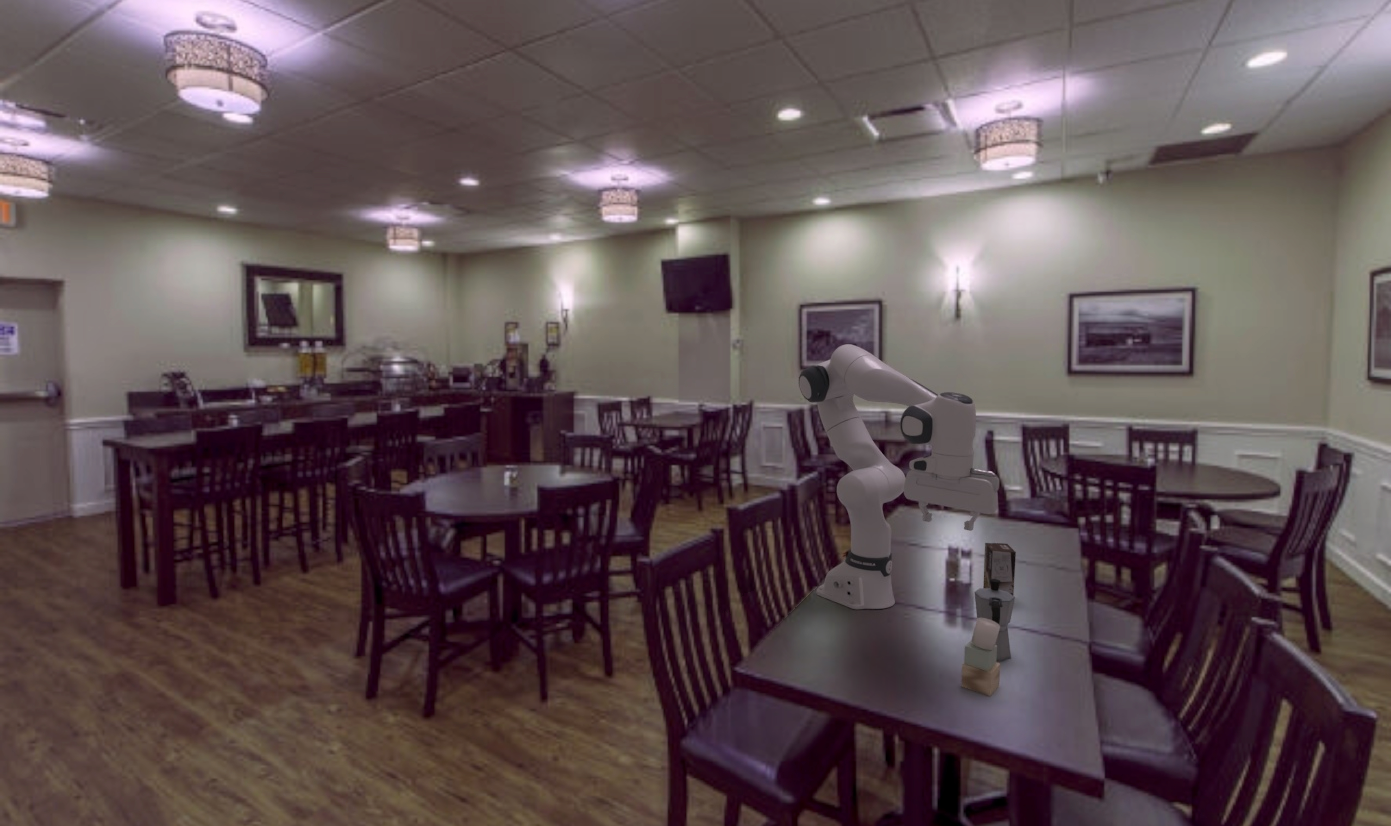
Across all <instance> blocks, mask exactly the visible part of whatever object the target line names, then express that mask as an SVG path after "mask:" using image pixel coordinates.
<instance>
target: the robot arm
mask: <svg viewBox="0 0 1391 826" xmlns="http://www.w3.org/2000/svg"><path fill="white" fill-rule="evenodd" d="M798 387H799V391H800V393H801V395H802V397H803V398H804V399H805V400H806V401H807V402H809V403H817V409H818V410H817V411H818V414H819V418H820V420H821V424H822V426H823V429H824V431H825V433H826V435H827V437H828V439H829V442H830V444H831V446H832V449H833V451H834V453H835V455H836V456H837V458H838V459H839V460H841V461H843V462H844V463H845V464H846V465H848V466H849V467H850V469H852V471H850V472H848V473H846V474H845V475H843V476H842V477H841V478H840V479H839V481H838V483H837V486H836V494H837V498H838V500H839V501H840V503H841V504H842V505H843V506H844V507H845V509H846V511H847V513H848V517H849V518H848V519H849V522H850V549H847V550H846V551H845V552H843V553H842V558H844V557H845V560H844V561H843V562H841V563H840V564H837V565H836V566H835V567H833V568H831V569H830V570H829V571H828V572H827V574H826V576H825V579H824V583H823V584H821V585H819V586H818V587H817V588H816V595H817V596H819V597H822V598H825V599H827V600H830V601H832V602H835V603H837V604H840V605H842V606H845V607H847V608H849V609H852V610H864V609H867V610H868V609H869V610H870V609H871V610H875V609H876V610H879V609H886V608H887V609H888V608H890V607H893V606H894V605H895V603H896V600H895V597H894V596H895V595H894V592H893V586H892V576H891V575H892V572H893V571H892V570H893V569H892V568H893V554H892V552H891V545H892V544H891V543H892V528H891V525H890V524H889V522H888V521H886V519H885V516H884V511H883V505H884V504H885V503H889V502H892V501H894V500H896V499H897V498H899V496H901V495H902V494H903V495H904V496H905V498H906V499H907V500H909V501H910V500H911V501H916V502H918V507H919V510H920V511H921V514H922V521H923V522H927V523H930V522H932V520H933V513H931V512H929V510H928V507H927V506H928V505H929V504H931V505H937V506H942V507H947V508H951V509H958V510H964V511H968V512H969V515H970V517H971V518H970V520H966V521H964V523H963V525H964V526H963V529H964V530H965V531H970V532H971V531H973V530H974V525H975V522H976V521H977V520H978V518H979V517H980V516H981V514H983V515H984V514H985V515H991V514H994V513H995V512H996V511H997V510H998V506H999V497H998V496H999V495H998V491H999V489H1000V481H1001V480H1000V478H999V477H998V475H997V474H995V473H994V472H993V471H991V470H982V469H978V468H977V469H976V468H973V467H974V453H975V451H974V447H973V444H974V443H973V442H974V440H975V436H976V427H977V426H976V425H977V411H976V405H975V402H974V401H975V400H973V398H971V397H970V396H968V395H966V394H963V393H957V392H952V391H951V392H950V391H949V392H948V391H947V392H946V391H944V392H941V393H939V394H938V393H936V392H934V391H933V390H931V389H929V388H928V387H926V386H924V385H923V384H921V383H919V382H918V381H917V380H914V379H912V378H910V377H908V376H906V375H905V374H902V372H900V371H897V370H896V369H894V368H893V367H892V366H890V365H889V364H887V363H885V362H884V361H882V360H880V359H879V358H878V357H876V356H875V355H873V354H872V353H871V352H869V351H867V350H865V349H864V348H862V347H860V346H857V345H854V344H850V343H847V344H842V345H840V346H838V347H837V348H835V350H834V351H833V352H832V354H831V356H830V359H828V360H826V361H823V362H820V363H817V364H815V365H810V366H808V367H807V368H804V369H803V370H802V371H801V372H800V374H799V377H798ZM854 396H857V397H858V398H860V399H863V400H864V401H867V402H874V403H889V404H890V403H891V404H897V405H903V406H907V407H906V409H905V410H904V411H903V412H902V414H901V418H900V423H899V426H900V432H901V435H902V436H903V438H904V439H905V441H907V442H908V443H909V444H911V445H916V446H928V445H930V446H931V455H926V456H923V457H918V458H914V459H912V460H910V461H909V464H908V465H909V469H910V470H909V471H908V472H907V473H906V475H905V474H904V472H903V470H902V469H901V468H899V467H898V466H896V465H894V464H893V463H892V462H890V460H889V459H888V458H887V457H886V456H885V454H883V453H882V451H881V450H880V449H879V447H878V446H877V444H876V443H875V442H874V441H873V439H872V437H871V434H870V433H869V431H868V429H867V426H866V424H865V422H864V420H863V419H862V416H861V414H860V412H859V411H858V409H857V407H856V405H855V401H854Z"/></svg>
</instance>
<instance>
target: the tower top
mask: <svg viewBox="0 0 1391 826" xmlns="http://www.w3.org/2000/svg"><path fill="white" fill-rule="evenodd" d="M963 659H964V660H963V663H964V664H966V665H969V666H972V667H976V668H979V669H982V670H985V671H989V670H990V669H991V668H992V667H993V666H994V665H995V664H996V662H997V661H996V659H997V645H995V647H994V649H993V650H986V649H982V648H980V647H978V646H976V645H975V644H973V643H972V641H971V640H970V641H969V642H968V643H967V644H965V645H964V658H963Z"/></svg>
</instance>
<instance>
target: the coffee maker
mask: <svg viewBox="0 0 1391 826" xmlns="http://www.w3.org/2000/svg"><path fill="white" fill-rule="evenodd" d="M999 585H1000V580H998V579H990V586H991V588H982V587H981V588H980V587H979V588H978V589H977V590H975V591H973V592H974V598H975V599H974V600H975V609H976V611H975V612H976V619H977V618H987V619H990V620H992V621H994V622H996V623H998V624H999V625H1000V629H999V633H998V636H997V640H996V644H995V645H997V659H996V662H1003V661H1007V660H1011V659H1012V655H1011V648H1010V647H1011V646H1010V638H1009V630H1008V629H1009V628H1008V627H1009V626H1008V624H1010V623H1011V621H1012V614H1013V609H1014V604H1015V600H1016V597H1015V596H1014V595H1011V594H1010V593H1009V592H1007V591H1003V590H999Z"/></svg>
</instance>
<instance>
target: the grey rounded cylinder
mask: <svg viewBox="0 0 1391 826" xmlns="http://www.w3.org/2000/svg"><path fill="white" fill-rule="evenodd" d="M999 629H1000V625H999V624H998V623H996V622H994V621H992V620H990V619H987V618H977V617H976V622H975V626H974V630H973V634H972V635H971V636H972V637H971V640H970V641H972V643H973V644H975V645H976V646H978V647H980V648H982V649H986V650H993V649H994V647H995V644H996V640H997V636H998V633H999Z"/></svg>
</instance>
